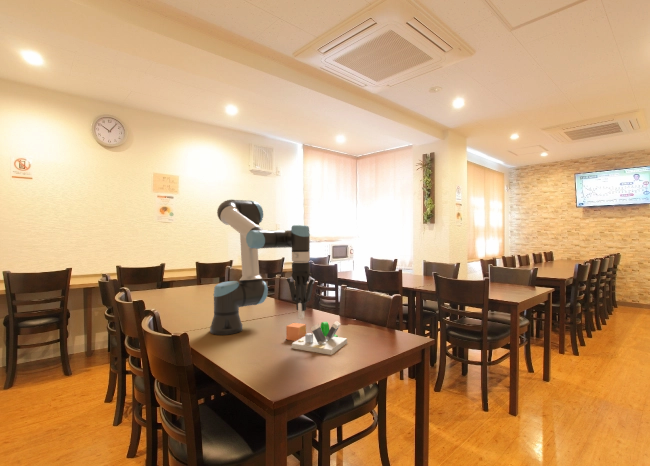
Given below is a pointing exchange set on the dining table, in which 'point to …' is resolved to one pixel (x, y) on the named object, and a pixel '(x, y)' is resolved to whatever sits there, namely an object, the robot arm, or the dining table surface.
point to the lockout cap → (295, 331)
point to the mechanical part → (325, 328)
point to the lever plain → (333, 330)
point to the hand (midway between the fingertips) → (301, 318)
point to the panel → (324, 348)
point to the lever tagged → (318, 334)
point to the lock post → (309, 338)
